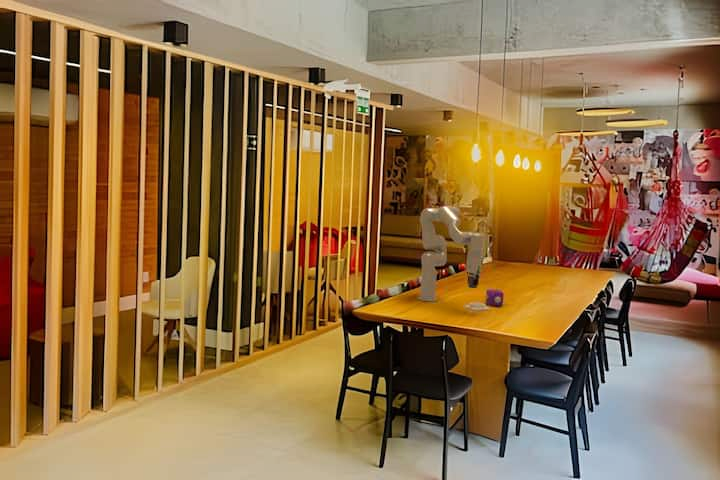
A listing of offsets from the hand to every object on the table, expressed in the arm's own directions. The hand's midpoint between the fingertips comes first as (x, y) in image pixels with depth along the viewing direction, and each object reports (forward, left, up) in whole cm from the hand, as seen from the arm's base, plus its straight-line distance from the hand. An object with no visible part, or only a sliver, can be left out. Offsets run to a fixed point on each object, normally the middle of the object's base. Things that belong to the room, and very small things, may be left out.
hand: (472, 284), depth 376 cm
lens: (0, 0, -2) cm, 2 cm away
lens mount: (-9, +11, -17) cm, 22 cm away
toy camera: (-16, +30, -17) cm, 38 cm away
